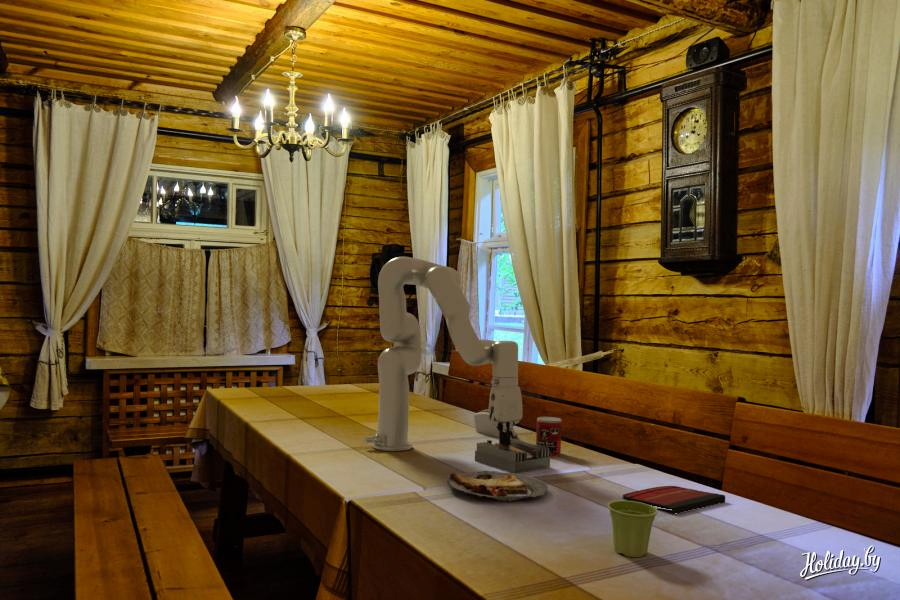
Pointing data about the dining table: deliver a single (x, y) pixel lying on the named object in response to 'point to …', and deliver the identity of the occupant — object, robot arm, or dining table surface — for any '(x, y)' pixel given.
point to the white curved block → (488, 424)
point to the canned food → (549, 434)
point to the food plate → (497, 485)
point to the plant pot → (631, 526)
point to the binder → (675, 498)
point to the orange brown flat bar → (510, 448)
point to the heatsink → (513, 456)
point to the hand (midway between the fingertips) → (504, 444)
